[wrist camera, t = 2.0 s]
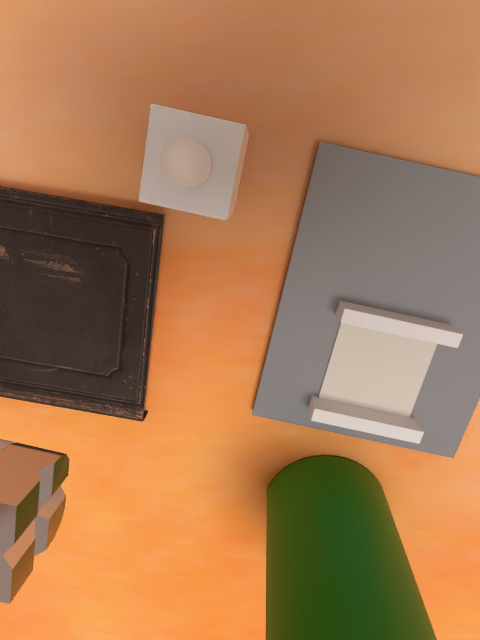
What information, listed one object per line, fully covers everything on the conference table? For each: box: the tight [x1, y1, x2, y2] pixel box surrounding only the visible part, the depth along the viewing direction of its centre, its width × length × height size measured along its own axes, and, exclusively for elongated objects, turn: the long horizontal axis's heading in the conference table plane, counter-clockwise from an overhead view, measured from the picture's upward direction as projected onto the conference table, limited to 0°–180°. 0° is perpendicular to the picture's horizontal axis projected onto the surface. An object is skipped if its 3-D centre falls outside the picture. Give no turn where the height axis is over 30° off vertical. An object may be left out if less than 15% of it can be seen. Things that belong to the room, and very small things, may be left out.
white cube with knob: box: [138, 103, 249, 221], centre depth 25 cm, size 5×5×8 cm
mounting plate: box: [252, 141, 480, 458], centre depth 30 cm, size 20×16×3 cm
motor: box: [266, 456, 437, 640], centre depth 27 cm, size 10×9×20 cm
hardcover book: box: [0, 186, 165, 421], centre depth 32 cm, size 16×23×2 cm
